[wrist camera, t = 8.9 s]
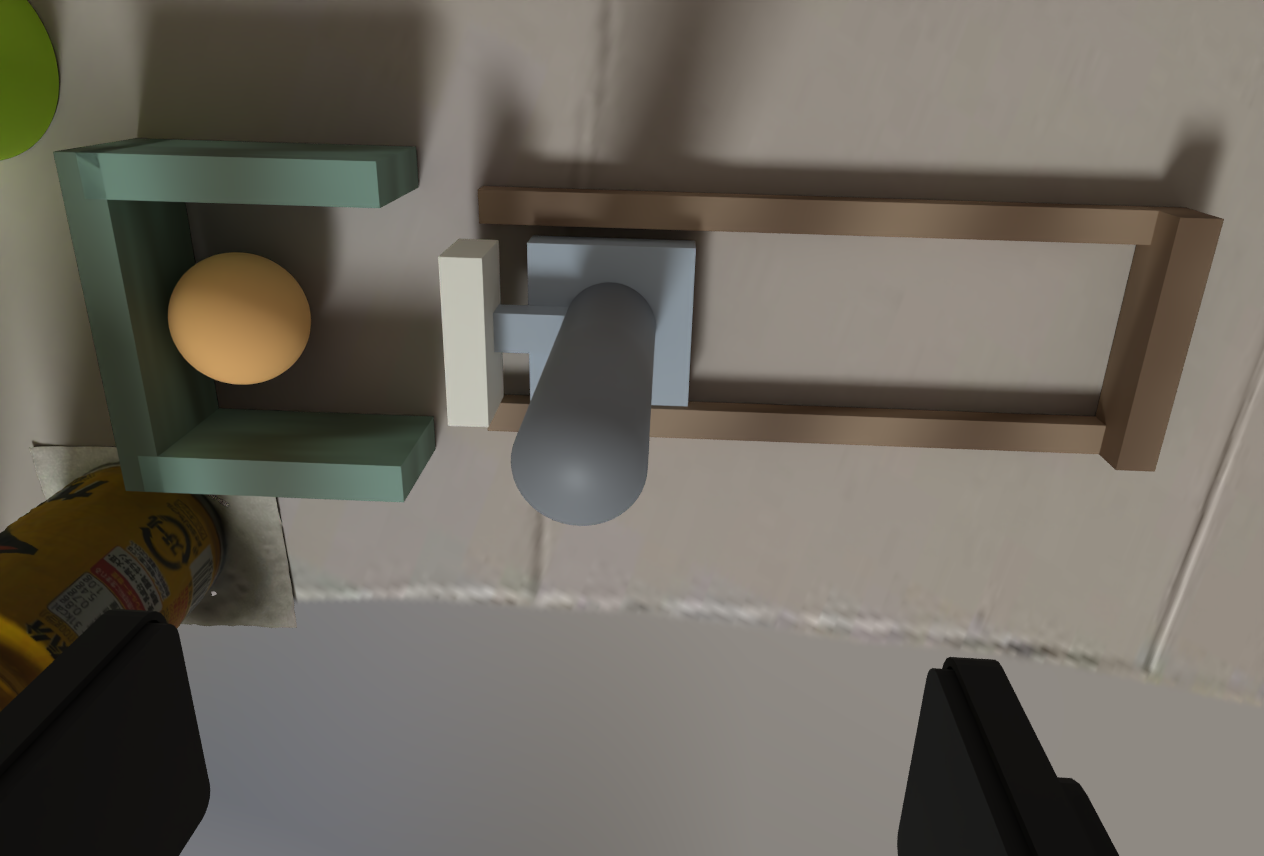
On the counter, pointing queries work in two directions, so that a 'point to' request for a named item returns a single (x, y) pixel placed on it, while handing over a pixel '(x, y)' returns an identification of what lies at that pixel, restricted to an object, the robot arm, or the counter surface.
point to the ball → (239, 318)
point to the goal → (143, 346)
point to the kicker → (572, 360)
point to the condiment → (130, 560)
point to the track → (1154, 295)
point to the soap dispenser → (25, 78)
